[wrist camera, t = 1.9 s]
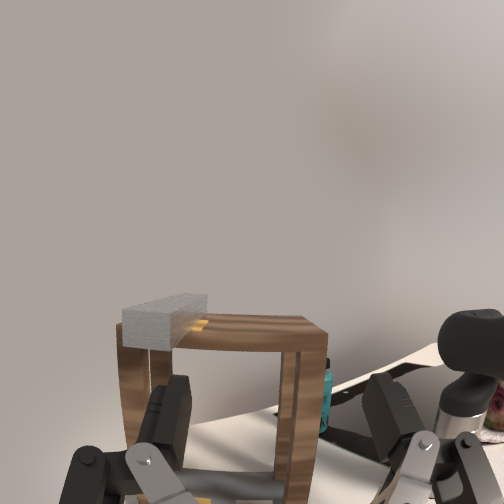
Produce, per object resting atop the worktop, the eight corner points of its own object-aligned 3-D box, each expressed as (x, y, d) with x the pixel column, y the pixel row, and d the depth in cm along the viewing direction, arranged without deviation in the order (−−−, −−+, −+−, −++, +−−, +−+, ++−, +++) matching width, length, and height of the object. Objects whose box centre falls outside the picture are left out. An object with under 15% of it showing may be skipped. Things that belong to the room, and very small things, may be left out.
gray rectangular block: (170, 351, 22) (170, 313, 22) (122, 346, 22) (122, 309, 22) (206, 313, 46) (207, 294, 46) (181, 312, 45) (181, 293, 46)
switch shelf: (302, 527, 29) (328, 331, 32) (142, 518, 29) (116, 322, 31) (288, 473, 45) (301, 314, 48) (163, 467, 45) (154, 309, 47)
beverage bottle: (296, 429, 65) (302, 355, 66) (320, 425, 66) (327, 353, 68) (306, 441, 58) (313, 363, 60) (331, 436, 60) (340, 360, 61)
